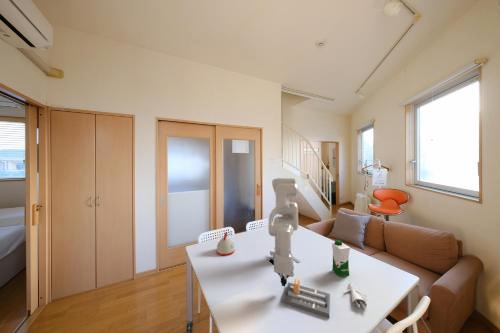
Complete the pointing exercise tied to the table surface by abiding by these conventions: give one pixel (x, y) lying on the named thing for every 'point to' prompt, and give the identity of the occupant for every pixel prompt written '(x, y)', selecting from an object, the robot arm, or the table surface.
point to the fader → (296, 287)
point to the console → (308, 300)
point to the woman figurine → (356, 296)
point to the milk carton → (340, 258)
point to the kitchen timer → (225, 246)
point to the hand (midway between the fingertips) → (283, 284)
